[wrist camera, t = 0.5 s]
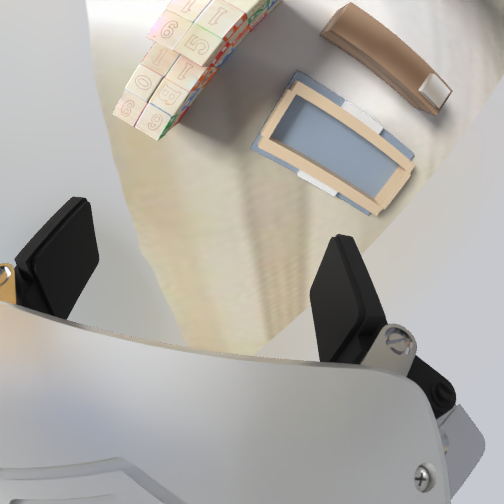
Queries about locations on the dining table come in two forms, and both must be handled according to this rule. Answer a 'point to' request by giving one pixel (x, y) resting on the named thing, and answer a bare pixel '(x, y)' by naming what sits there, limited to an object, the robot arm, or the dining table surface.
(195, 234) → the dining table surface
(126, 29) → the dining table surface
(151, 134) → the stack of blocks
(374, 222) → the dining table surface
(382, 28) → the long brown block
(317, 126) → the cradle
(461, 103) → the dining table surface
